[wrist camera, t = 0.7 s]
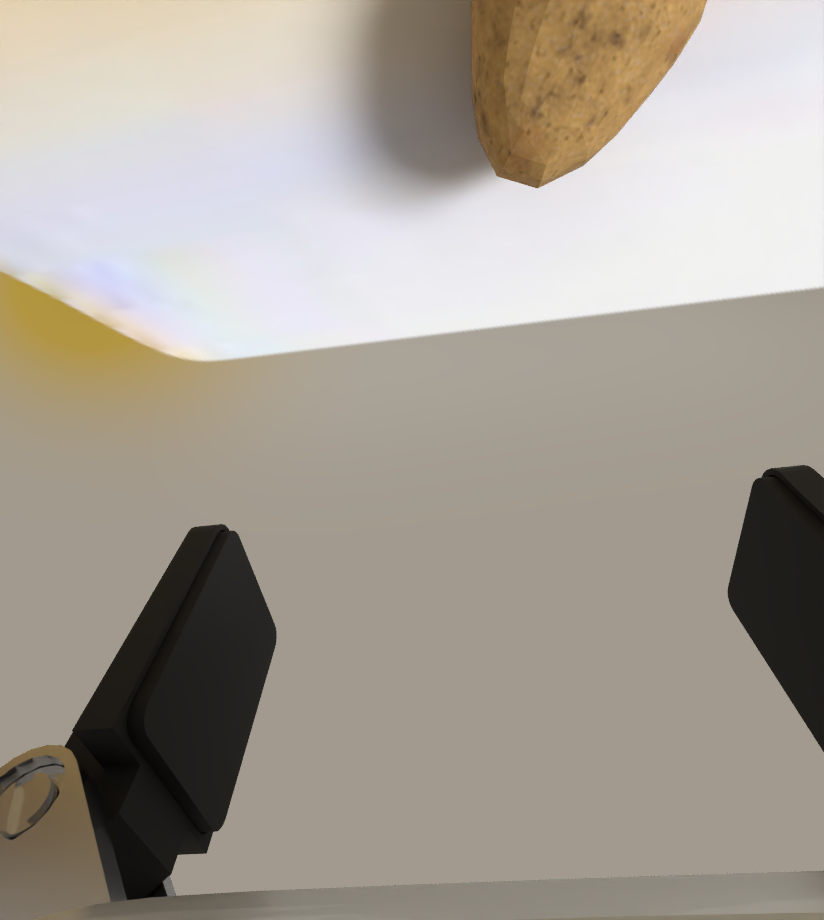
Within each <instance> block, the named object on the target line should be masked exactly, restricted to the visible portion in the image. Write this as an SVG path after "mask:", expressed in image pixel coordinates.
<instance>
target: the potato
mask: <svg viewBox="0 0 824 920" xmlns="http://www.w3.org/2000/svg"><path fill="white" fill-rule="evenodd" d="M706 2H707V0H473V1H472V5H471V21H472V100H473V107H474V114H475V120H476V127H477V134H478V139H479V141H480V143H481V145H482V147H483V149H484V151H485V153H486V155H487V157H488V159H489V161H490V163H491V165H492V167H493V169H494V171H495V173H496V175H497V176H498V177H502V178H505V179H508V180H512V181H515V182H518V183H522V184H525V185H528V186H532V187H535V188H539V187H541V186H543V185H545V184H547V183H549V182H551V181H553V180H555V179H557V178H559V177H561V176H563V175H565V174H567V173H569V172H571V171H573V170H575V169H578V168H580V167H582V166H583V165H585V164H586V163H587V162H588V161H589V160H590V159H591V158H592V157H593V156H594V155H595V154H596V153H598V152H599V151H600V150H601V149H602V148H603V147H604V146H605V145H606V144H607V143H608V142H609V141H610V140H612V139H613V138H614V137H615V136H616V135H617V134H618V132H619V131H620V130H621V129H622V128H623V126H624V125H625V124H626V123H627V122H628V120H629V119H630V118H631V117H632V116H633V114H634V113H635V112H636V111H637V110H638V108H639V107H640V106H641V105H642V104H643V103H644V101H645V100H646V99H647V98H648V97H649V95H650V94H651V93H652V92H653V90H654V89H655V88H656V86H657V85H658V84H659V82H660V81H661V80H662V79H663V77H664V76H665V75H666V73H667V72H668V71H669V69H670V68H671V67H672V66H673V64H674V63H675V61H676V60H677V58H678V57H679V55H680V53H681V52H682V50H683V48H684V47H685V45H686V44H687V42H688V40H689V39H690V37H691V35H692V34H693V32H694V31H695V29H696V27H697V26H698V24H699V22H700V21H701V17H702V14H703V11H704V8H705V5H706Z"/></svg>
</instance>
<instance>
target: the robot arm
mask: <svg viewBox="0 0 824 920" xmlns="http://www.w3.org/2000/svg"><path fill="white" fill-rule="evenodd" d="M728 598H729V602H730V605H731V607H732V609H733V611H734V612H735V614H736V615H737V617H738V618H739V620H740V622H741V623H742V625H743V626H744V628H745V629H746V631H747V633H748V634H749V636H750V637H751V639H752V640H753V642H754V644H755V645H756V647H757V648H758V650H759V651H760V653H761V655H762V656H763V658H764V659H765V661H766V662H767V664H768V666H769V667H770V668H771V670H772V672H773V673H774V675H775V676H776V678H777V679H778V681H779V682H780V684H781V686H782V687H783V689H784V691H785V692H786V694H787V695H788V697H789V698H790V700H791V701H792V703H793V704H794V706H795V708H796V709H797V711H798V712H799V714H800V716H801V717H802V719H803V720H804V722H805V723H806V725H807V727H808V728H809V730H810V731H811V732H812V734H813V736H814V737H815V739H816V741H817V742H818V744H819V745H820V747H821V748H822V750H823V752H824V478H823V477H822V476H821V475H820V474H818V473H817V472H816V471H815V470H814V469H812V468H811V467H809V466H805V465H800V466H791V467H781V468H771V469H769V470H766V471H765V472H764V473H763V476H762V478H758V479H756V480H755V481H754V483H753V485H752V489H751V493H750V497H749V502H748V506H747V510H746V514H745V518H744V523H743V527H742V531H741V535H740V539H739V544H738V548H737V553H736V556H735V561H734V565H733V569H732V573H731V577H730V582H729V586H728ZM275 645H276V627H275V624H274V622H273V619H272V617H271V614H270V612H269V609H268V607H267V604H266V602H265V599H264V597H263V595H262V592H261V590H260V587H259V585H258V582H257V580H256V577H255V575H254V573H253V570H252V567H251V565H250V562H249V560H248V558H247V555H246V553H245V550H244V548H243V545H242V543H241V540H240V538H239V536H238V534H237V533H236V532H235V531H229V529H228V528H227V527H226V526H225V525H223V524H220V525H210V526H199V527H194V528H191V530H190V531H189V532H188V534H187V535H186V537H185V539H184V541H183V542H182V544H181V546H180V547H179V549H178V551H177V552H176V554H175V556H174V558H173V559H172V561H171V563H170V564H169V566H168V568H167V569H166V571H165V573H164V575H163V576H162V578H161V580H160V581H159V583H158V585H157V587H156V588H155V590H154V592H153V593H152V595H151V597H150V598H149V600H148V602H147V604H146V605H145V607H144V609H143V611H142V612H141V614H140V616H139V617H138V619H137V621H136V622H135V624H134V626H133V628H132V629H131V631H130V633H129V634H128V636H127V638H126V639H125V641H124V643H123V645H122V646H121V648H120V650H119V652H118V653H117V655H116V657H115V658H114V660H113V662H112V664H111V665H110V667H109V669H108V670H107V672H106V674H105V675H104V677H103V679H102V680H101V682H100V684H99V686H98V687H97V689H96V691H95V692H94V694H93V696H92V698H91V699H90V701H89V703H88V704H87V706H86V708H85V710H84V711H83V713H82V715H81V716H80V718H79V720H78V722H77V723H76V725H75V727H74V728H73V730H72V731H73V733H72V735H71V736H70V738H69V740H68V742H67V743H66V745H65V747H63V746H61V745H46V746H42V747H38V748H35V749H31V750H29V751H27V752H25V753H23V754H21V755H19V756H17V757H15V758H13V759H12V760H11V761H9V762H8V763H7V764H5V765H4V766H2V767H1V768H0V920H824V871H801V872H770V873H769V872H768V873H736V874H735V873H734V874H703V875H668V876H640V877H613V878H612V877H611V878H583V879H553V880H526V881H498V882H471V883H443V884H419V885H418V884H417V885H394V886H370V887H369V886H368V887H344V888H320V889H295V890H270V891H251V892H234V893H220V894H219V893H218V894H201V895H185V896H176V893H175V890H174V887H173V884H172V881H171V878H170V875H171V873H172V870H173V867H174V864H175V861H176V858H177V855H181V854H203V853H207V850H208V847H209V843H210V840H211V837H212V833H213V832H214V831H218V830H219V829H220V828H221V827H222V825H223V823H224V821H225V818H226V815H227V812H228V808H229V805H230V801H231V798H232V794H233V791H234V787H235V784H236V780H237V776H238V774H239V770H240V767H241V763H242V760H243V756H244V753H245V749H246V746H247V742H248V739H249V735H250V732H251V728H252V725H253V722H254V718H255V714H256V711H257V708H258V704H259V701H260V697H261V694H262V690H263V687H264V683H265V680H266V677H267V673H268V670H269V666H270V663H271V659H272V656H273V652H274V649H275Z"/></svg>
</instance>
